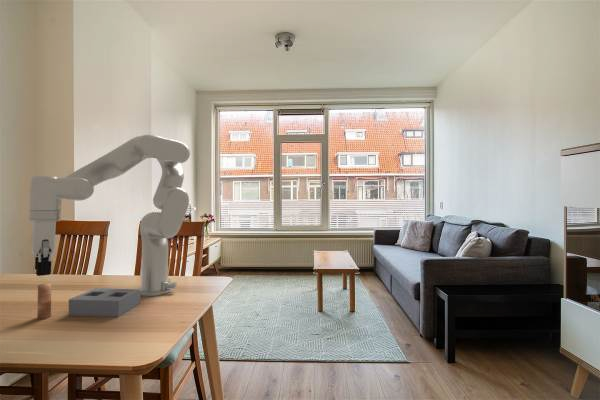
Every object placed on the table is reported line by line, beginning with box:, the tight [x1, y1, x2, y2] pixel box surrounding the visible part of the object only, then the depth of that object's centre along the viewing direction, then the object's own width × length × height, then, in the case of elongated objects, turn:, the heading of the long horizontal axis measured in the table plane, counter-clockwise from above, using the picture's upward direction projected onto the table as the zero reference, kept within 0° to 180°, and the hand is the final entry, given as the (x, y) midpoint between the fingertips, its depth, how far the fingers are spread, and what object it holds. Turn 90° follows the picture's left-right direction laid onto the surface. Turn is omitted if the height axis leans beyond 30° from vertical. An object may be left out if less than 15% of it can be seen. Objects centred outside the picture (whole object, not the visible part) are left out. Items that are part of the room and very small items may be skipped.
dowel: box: [36, 282, 52, 320], centre depth 93 cm, size 3×3×10 cm
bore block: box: [67, 287, 141, 318], centre depth 101 cm, size 16×12×5 cm
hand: (42, 272), depth 93 cm, fingers open, 9 cm apart
